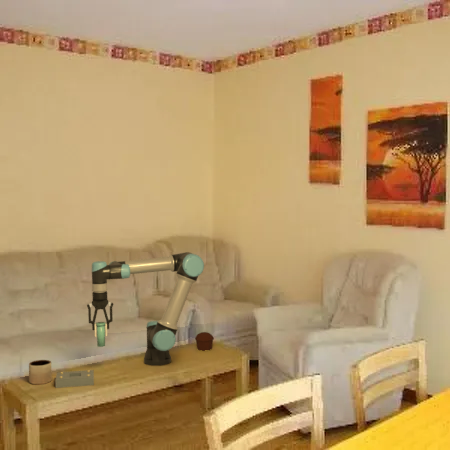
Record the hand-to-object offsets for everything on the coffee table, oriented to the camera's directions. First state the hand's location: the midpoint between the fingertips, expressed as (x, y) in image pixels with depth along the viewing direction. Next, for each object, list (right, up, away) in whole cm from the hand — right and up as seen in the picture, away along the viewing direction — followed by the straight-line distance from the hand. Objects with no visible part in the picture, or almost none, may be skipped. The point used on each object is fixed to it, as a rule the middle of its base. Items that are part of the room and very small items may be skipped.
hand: (101, 335), depth 298 cm
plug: (0, -5, 0) cm, 5 cm away
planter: (-28, -21, -10) cm, 37 cm away
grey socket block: (-10, -21, -12) cm, 26 cm away
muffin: (+52, -18, +51) cm, 75 cm away
